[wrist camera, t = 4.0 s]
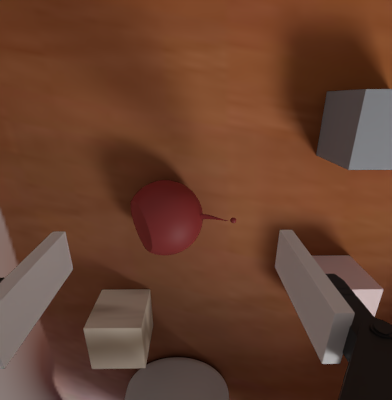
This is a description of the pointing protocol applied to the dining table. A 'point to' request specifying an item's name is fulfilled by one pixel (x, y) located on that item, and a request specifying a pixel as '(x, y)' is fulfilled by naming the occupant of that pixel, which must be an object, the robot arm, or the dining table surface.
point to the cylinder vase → (177, 381)
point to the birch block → (120, 329)
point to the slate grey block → (357, 129)
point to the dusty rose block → (353, 278)
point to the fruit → (167, 217)
